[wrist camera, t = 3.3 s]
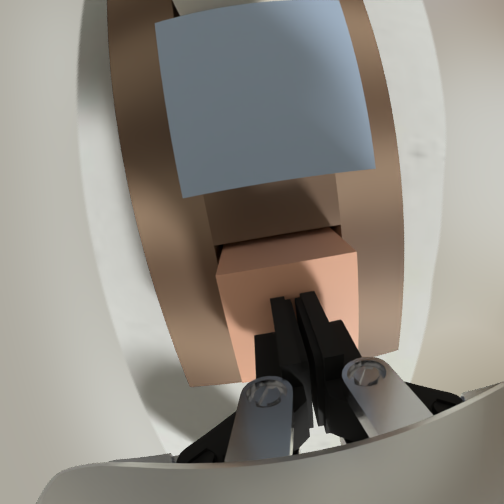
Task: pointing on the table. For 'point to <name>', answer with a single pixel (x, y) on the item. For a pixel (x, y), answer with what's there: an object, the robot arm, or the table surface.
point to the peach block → (285, 284)
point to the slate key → (262, 94)
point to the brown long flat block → (249, 201)
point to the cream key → (208, 4)
